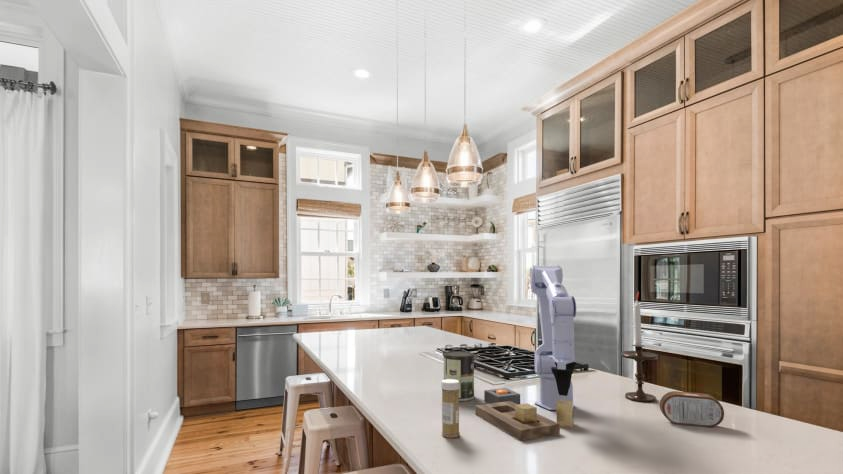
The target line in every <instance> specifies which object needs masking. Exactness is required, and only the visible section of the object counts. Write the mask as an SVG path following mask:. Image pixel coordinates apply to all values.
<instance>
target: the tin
mask: <svg viewBox="0 0 843 474" xmlns="http://www.w3.org/2000/svg"><path fill="white" fill-rule="evenodd" d="M659 409H660V411H661V413H662V414H663V416H664V417H665V418H666V420H668V421H669V422H670V423H673V424H675V425H681V426H682V425H683V426H690V427H691V426H692V427H693V426H694V427H703V428H715V427H717V426H718V425H720V424H721V423H722V422H723V421H724V418H725V409H724V407H723V405H722V404H721V403H720V401H719V400H718V399H717V398H716V397H714V396H713V395H712V394H708V393H701V392H699V393H698V392H688V391H687V392H685V391H679V390H678V391H675V390H673V391H669V392H667V393H665V394H663V396H662V397H661V399H660V400H659Z"/></svg>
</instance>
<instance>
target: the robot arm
mask: <svg viewBox="0 0 843 474" xmlns="http://www.w3.org/2000/svg"><path fill="white" fill-rule="evenodd" d="M562 282H563V268H562V267H561V265H560V264H559V265H533V264H532V265H531V266H530V269H529V285H530V289H531V293H533V294H535V295H536V297H537V301H538V306H539V307H538V309H539V310H538V311H539V320H540V329H541V330H540V331H541V340H542V344H541V345H539V346H538V347H537V348H536V349H535V351H534V363H533V364H534V372H535V374H537V375H538V376H539V395H540V396H539V398H540V400H538V401H534V403H533V404H535V405H537V406H539V407H542V408H544V409H545V410H548V411H556V403H557V400H567V401H573V402H574V394H573V393H574V390H573V389H574V388H573V382H572V375H573V373H574V369H575V366H576V364H577V362H576V356H575V353H576V351H575V324H574V323H575V321H574V318H575V317H576V316H577V302H576V298H575V296H573V295H569V293H568V291H567V289H566V287H565V286H564V284H562ZM575 407H576V405H575V404H573V408H575Z"/></svg>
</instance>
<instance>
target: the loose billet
mask: <svg viewBox="0 0 843 474" xmlns="http://www.w3.org/2000/svg"><path fill="white" fill-rule="evenodd" d="M573 405H574V400H573V401H567V400H557V403H556V410H555V412H556V423H559V424H560V428H565V429H566V428H567V429H573V427H574V407H573Z"/></svg>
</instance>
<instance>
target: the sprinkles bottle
mask: <svg viewBox="0 0 843 474" xmlns="http://www.w3.org/2000/svg"><path fill="white" fill-rule="evenodd" d="M441 392H442V393H441V395H442V396H441V399H442V400H441V422H442V423H441V424H442V425H441V426H442V430H441V431H442V432H441V435H442V436H443V437H445V438H450V439H452V438H453V439H454V438H457V437H459V436H460V433H461V432H460V401H459V381H458V380H455V379H445V380H444V379H442V380H441Z"/></svg>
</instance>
